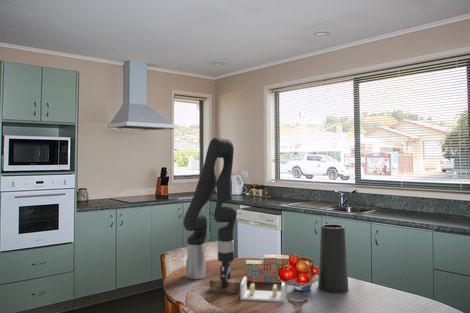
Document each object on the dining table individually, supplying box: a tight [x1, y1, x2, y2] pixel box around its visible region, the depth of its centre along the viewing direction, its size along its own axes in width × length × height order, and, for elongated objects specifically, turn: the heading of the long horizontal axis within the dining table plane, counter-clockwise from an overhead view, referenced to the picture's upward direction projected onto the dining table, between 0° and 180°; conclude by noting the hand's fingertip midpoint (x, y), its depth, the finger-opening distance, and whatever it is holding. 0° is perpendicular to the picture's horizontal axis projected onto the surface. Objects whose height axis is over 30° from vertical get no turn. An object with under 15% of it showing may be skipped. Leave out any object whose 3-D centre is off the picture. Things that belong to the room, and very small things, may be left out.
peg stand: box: [239, 276, 287, 303], centre depth 166 cm, size 19×10×7 cm, turn 80°
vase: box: [317, 223, 349, 294], centre depth 177 cm, size 14×14×29 cm
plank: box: [209, 277, 243, 295], centre depth 175 cm, size 14×4×5 cm, turn 73°
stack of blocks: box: [245, 254, 290, 284], centre depth 188 cm, size 21×6×12 cm, turn 84°
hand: (226, 285), depth 175 cm, fingers open, 8 cm apart
